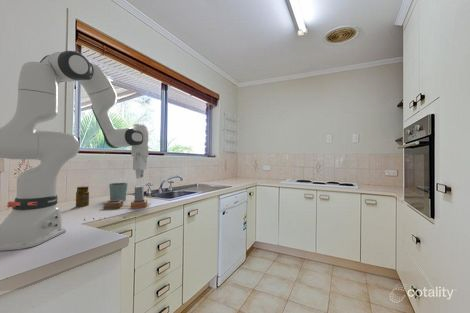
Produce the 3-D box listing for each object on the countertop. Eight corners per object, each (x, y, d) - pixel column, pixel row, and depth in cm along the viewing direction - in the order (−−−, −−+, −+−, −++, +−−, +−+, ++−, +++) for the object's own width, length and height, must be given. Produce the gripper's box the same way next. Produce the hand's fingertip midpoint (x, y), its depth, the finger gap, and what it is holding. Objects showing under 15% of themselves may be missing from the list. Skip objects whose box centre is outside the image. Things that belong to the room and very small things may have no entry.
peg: (142, 206, 121) (142, 187, 121) (134, 207, 120) (134, 187, 120) (143, 205, 125) (143, 186, 125) (135, 205, 124) (136, 186, 124)
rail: (148, 210, 118) (148, 202, 118) (98, 213, 112) (98, 204, 112) (150, 205, 130) (151, 198, 130) (106, 207, 124) (106, 199, 124)
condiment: (89, 206, 127) (89, 185, 127) (90, 209, 120) (91, 187, 120) (73, 208, 122) (73, 186, 122) (74, 211, 115) (74, 188, 115)
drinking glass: (106, 204, 131) (106, 184, 131) (111, 201, 141) (112, 182, 141) (124, 204, 134) (125, 184, 134) (128, 200, 143) (129, 182, 143)
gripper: (142, 152, 113) (142, 178, 113) (148, 154, 133) (148, 176, 133) (129, 152, 112) (129, 179, 111) (137, 154, 132) (137, 177, 131)
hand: (139, 178), depth 122 cm, fingers open, 8 cm apart
